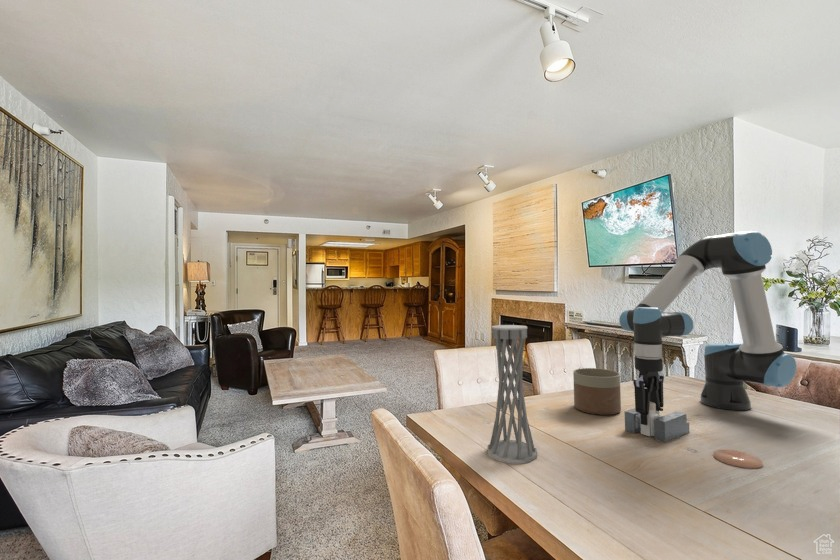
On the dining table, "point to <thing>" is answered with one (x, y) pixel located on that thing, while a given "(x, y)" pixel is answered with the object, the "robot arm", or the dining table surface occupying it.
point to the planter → (597, 391)
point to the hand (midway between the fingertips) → (650, 433)
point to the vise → (659, 425)
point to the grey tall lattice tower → (510, 448)
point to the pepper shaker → (653, 416)
